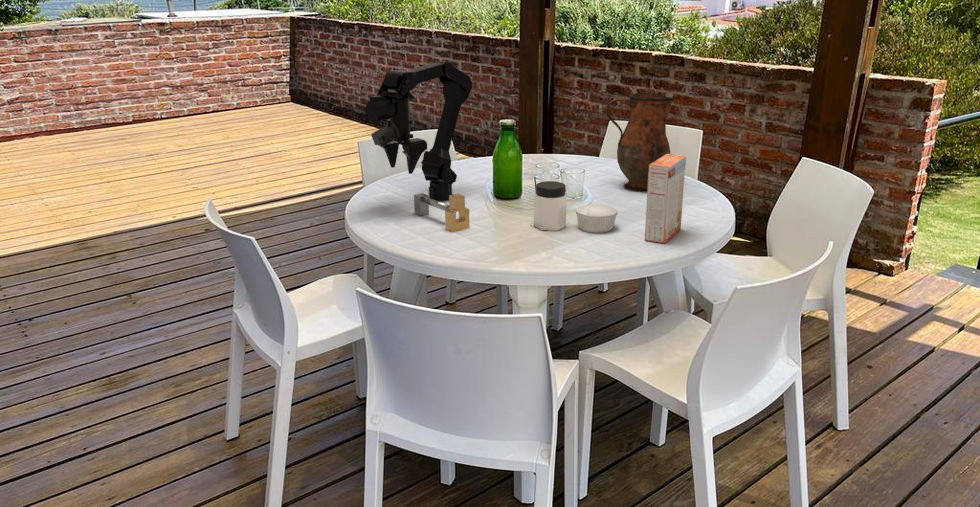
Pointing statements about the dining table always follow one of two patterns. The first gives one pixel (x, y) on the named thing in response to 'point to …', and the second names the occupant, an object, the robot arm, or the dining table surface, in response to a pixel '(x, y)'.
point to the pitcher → (642, 137)
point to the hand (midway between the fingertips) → (401, 170)
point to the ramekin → (596, 218)
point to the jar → (550, 206)
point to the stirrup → (450, 215)
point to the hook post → (426, 204)
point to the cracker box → (664, 198)
